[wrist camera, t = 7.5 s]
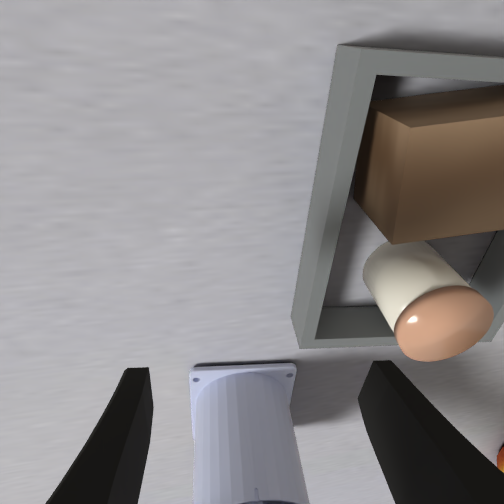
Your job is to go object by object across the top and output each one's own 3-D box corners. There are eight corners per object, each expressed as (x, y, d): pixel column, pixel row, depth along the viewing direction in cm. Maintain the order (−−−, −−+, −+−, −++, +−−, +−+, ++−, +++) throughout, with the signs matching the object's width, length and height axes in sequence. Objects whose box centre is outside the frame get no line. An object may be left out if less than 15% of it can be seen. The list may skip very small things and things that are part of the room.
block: (508, 176, 20) (588, 217, 15) (352, 197, 19) (391, 244, 15) (541, 79, 17) (650, 97, 13) (359, 101, 16) (410, 127, 12)
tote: (465, 312, 25) (491, 341, 23) (290, 317, 24) (299, 349, 21) (599, 63, 16) (664, 70, 14) (337, 44, 15) (361, 48, 12)
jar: (419, 295, 24) (469, 360, 19) (353, 295, 23) (387, 362, 19) (446, 235, 21) (511, 294, 17) (372, 234, 21) (418, 295, 16)
